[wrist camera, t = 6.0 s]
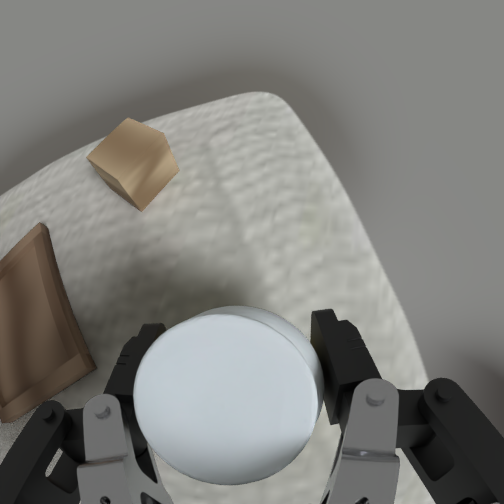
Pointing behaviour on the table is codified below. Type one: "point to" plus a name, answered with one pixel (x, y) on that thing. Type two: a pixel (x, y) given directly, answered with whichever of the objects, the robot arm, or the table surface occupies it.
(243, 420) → the supplement bottle
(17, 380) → the tray
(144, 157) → the oak block
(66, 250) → the table surface
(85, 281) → the table surface
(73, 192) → the table surface
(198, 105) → the table surface
